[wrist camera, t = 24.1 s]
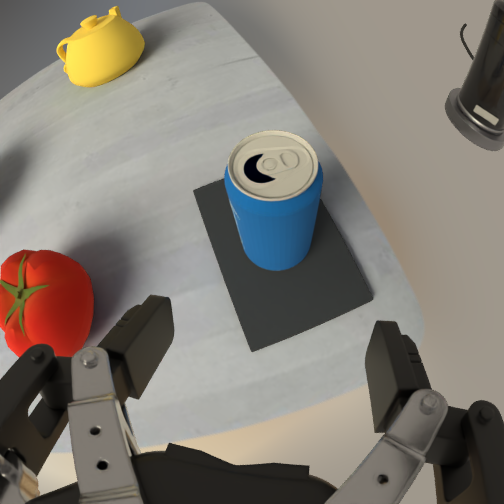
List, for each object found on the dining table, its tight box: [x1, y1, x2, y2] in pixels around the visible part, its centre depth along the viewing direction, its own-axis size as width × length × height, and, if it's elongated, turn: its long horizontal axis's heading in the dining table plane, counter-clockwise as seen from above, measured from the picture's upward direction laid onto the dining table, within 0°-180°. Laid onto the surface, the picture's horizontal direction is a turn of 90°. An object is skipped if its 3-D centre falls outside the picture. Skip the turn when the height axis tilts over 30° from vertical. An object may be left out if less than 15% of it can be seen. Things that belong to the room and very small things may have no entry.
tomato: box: [0, 250, 94, 357], centre depth 25 cm, size 13×12×8 cm
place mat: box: [193, 179, 373, 352], centre depth 30 cm, size 18×12×1 cm, turn 21°
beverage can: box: [224, 130, 323, 271], centre depth 24 cm, size 6×6×12 cm
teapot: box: [57, 6, 145, 87], centre depth 43 cm, size 20×19×13 cm
